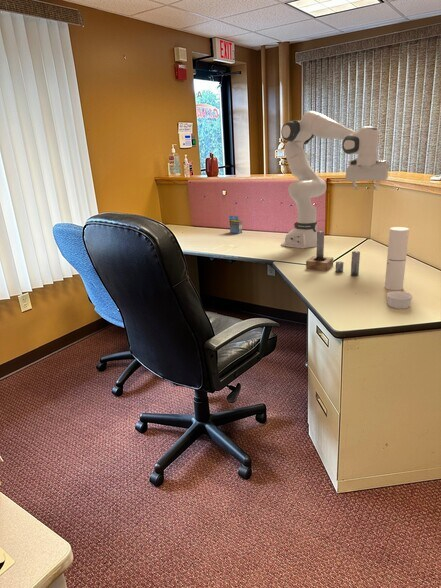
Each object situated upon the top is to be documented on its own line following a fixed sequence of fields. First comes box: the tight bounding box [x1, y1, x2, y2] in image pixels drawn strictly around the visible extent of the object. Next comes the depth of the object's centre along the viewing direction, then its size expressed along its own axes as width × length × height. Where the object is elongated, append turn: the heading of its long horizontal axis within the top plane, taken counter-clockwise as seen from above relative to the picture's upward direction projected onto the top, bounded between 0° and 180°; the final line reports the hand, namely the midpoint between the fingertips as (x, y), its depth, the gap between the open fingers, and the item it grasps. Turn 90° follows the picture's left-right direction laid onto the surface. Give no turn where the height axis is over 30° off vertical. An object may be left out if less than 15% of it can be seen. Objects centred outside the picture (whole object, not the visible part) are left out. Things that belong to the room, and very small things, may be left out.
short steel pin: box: [335, 261, 344, 274], centre depth 199 cm, size 4×4×4 cm
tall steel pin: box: [315, 230, 325, 261], centre depth 206 cm, size 4×4×18 cm
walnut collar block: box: [305, 255, 334, 272], centre depth 208 cm, size 10×10×4 cm
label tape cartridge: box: [228, 215, 243, 235], centre depth 297 cm, size 9×4×12 cm, turn 47°
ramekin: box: [386, 290, 413, 310], centre depth 156 cm, size 9×9×4 cm
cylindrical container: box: [384, 226, 410, 291], centre depth 171 cm, size 7×7×25 cm
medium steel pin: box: [350, 250, 361, 277], centre depth 192 cm, size 4×4×11 cm
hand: (365, 189), depth 211 cm, fingers open, 8 cm apart
